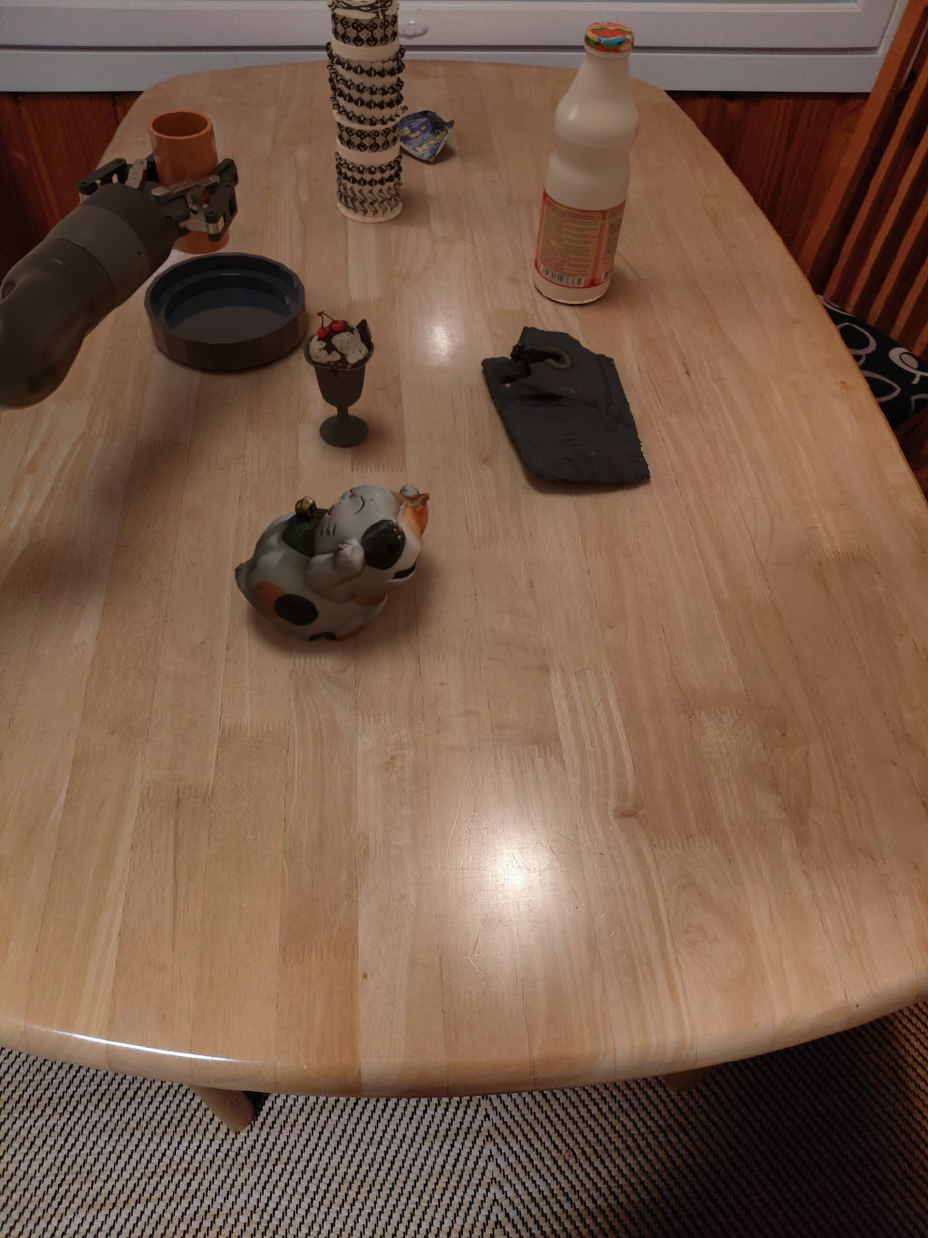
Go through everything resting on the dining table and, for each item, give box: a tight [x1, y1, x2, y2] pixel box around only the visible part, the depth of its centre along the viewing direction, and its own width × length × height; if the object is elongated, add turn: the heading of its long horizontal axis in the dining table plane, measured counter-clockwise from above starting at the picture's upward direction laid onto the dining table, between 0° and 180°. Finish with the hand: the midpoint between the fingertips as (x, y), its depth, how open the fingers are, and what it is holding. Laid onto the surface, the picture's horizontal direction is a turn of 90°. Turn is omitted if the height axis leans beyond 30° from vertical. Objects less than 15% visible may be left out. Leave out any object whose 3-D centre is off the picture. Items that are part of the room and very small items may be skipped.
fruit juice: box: [532, 21, 640, 301], centre depth 103 cm, size 9×9×28 cm
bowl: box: [143, 251, 308, 371], centre depth 104 cm, size 17×17×4 cm
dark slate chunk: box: [480, 325, 651, 485], centre depth 96 cm, size 15×22×5 cm
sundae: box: [302, 309, 375, 448], centre depth 89 cm, size 7×7×15 cm
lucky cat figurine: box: [234, 482, 430, 643], centre depth 78 cm, size 15×12×14 cm
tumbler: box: [146, 109, 230, 256], centre depth 87 cm, size 6×6×11 cm
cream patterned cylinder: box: [324, 0, 407, 224], centre depth 113 cm, size 9×9×25 cm
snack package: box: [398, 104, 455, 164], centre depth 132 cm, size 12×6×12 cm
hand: (201, 161), depth 88 cm, fingers closed on tumbler, 5 cm apart
